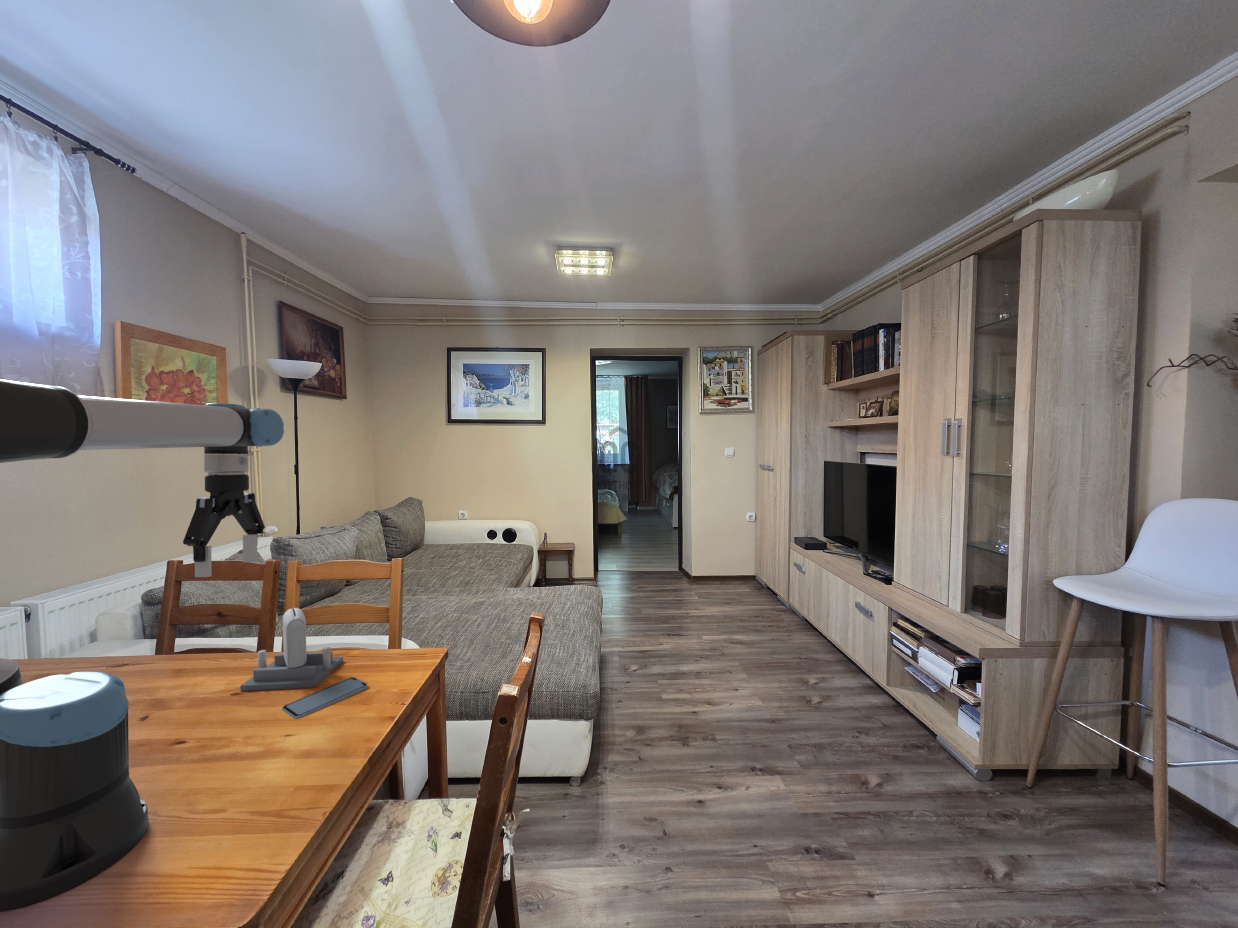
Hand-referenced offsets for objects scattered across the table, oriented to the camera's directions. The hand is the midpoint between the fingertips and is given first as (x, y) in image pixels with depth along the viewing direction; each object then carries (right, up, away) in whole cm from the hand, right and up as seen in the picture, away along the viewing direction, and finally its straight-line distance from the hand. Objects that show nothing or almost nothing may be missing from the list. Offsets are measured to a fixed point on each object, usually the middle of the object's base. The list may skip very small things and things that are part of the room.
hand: (228, 568), depth 103 cm
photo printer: (+9, -24, +9) cm, 27 cm away
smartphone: (+23, -29, -1) cm, 37 cm away
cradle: (+9, -28, +9) cm, 31 cm away
